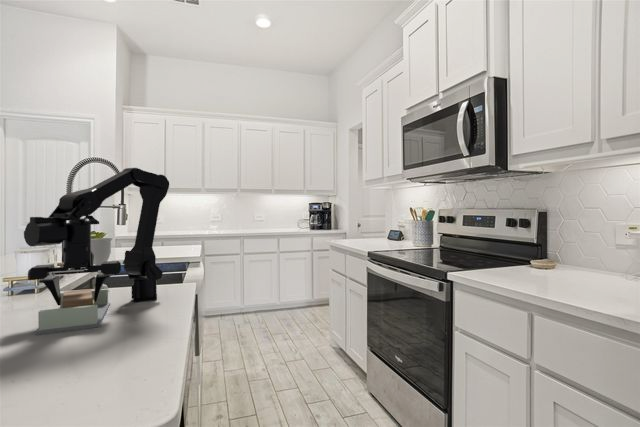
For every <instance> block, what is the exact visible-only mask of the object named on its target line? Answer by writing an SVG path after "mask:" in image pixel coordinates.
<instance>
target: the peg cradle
mask: <svg viewBox="0 0 640 427" xmlns="http://www.w3.org/2000/svg"><path fill="white" fill-rule="evenodd" d="M108 290H109V288H108V289H101V291H100V293H99V296H98V299H97V301H96V302H95V301H94V293H95V290H93V289H91V291H92V297H93V305H89V306H79V307H69V308H62V302H63V296H64V292H65V291H64V292H63V291H61V292H60V294H61V305H59V308H51V309H42V310H39V311H37V313H38V327H37V329H36V330H35V331H34V332H35V335H36V336H38V335H44V334H45V335H46V334H52V333H53V334H54V333H61V332H69V331H77V330H78V331H79V330H85V329H86V330H87V329H93V328H100V326H101V325H102V323H103V320H104V318H105V317H106V315H107V313H106V312H108V311H107V310H109V309H110V307H111V302H109V292H108ZM109 306H110V307H109ZM108 308H109V309H108ZM105 314H106V315H105ZM104 316H105V317H104ZM35 335H34V336H35Z"/></svg>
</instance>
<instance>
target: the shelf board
mask: <svg viewBox="0 0 640 427" xmlns="http://www.w3.org/2000/svg"><path fill="white" fill-rule="evenodd" d="M91 290H92V288H87V289H86V288H85V289H78V290H70V291H64V296H63V302H62V308H69V307H79V306H89V305H93V297H92V291H91Z"/></svg>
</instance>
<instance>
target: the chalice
mask: <svg viewBox="0 0 640 427" xmlns="http://www.w3.org/2000/svg"><path fill="white" fill-rule="evenodd" d="M112 240H113V238H112V237H111V238H110V237H100V238H91V251H92V253H93V254H94V263H93V264H94V265H101V264H102V263H103V262H105V261H109V258H110V255H111V254H112V251H111V250H112V249H111V248H112V243H111V242H112ZM101 289H108V293H109V292H110V290H109V287H108V285H107V284H104V283H103V285H102V288H101ZM92 290H95V286H94V288H93V289H92Z"/></svg>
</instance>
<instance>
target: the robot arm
mask: <svg viewBox="0 0 640 427" xmlns="http://www.w3.org/2000/svg"><path fill="white" fill-rule="evenodd" d="M131 185H133V186H135V187H137V188H139V194H140V197H141V199H142V205H141V209H140V214H139V220H138V225H137V230H136V235H135V242H134V246H133V247H132V248H131V250H125V252H124V260H123V261H122V263H121V261H119V260H108V261H105V262H103V263H102V264H101V265H95V263H94V254H93V253H92V251H91V239H92V226H91V225H99V224H100V221H99V220H98V219H96V218H95V217H94V216H93V215H92V214H94V212H96V211H97V210H98V209H99V208H100V207H101V206H102V204H103V202H104V201H106V199H108V198H110V197H112V196H114V195H115V194H117V193H119V192H120V191H122V190H124V189H125V188H127V187H129V186H131ZM169 188H170V181H169V179H168V178H167V177H166V176H165V175H164V174H157V173H153V172H149V171H145V170H143V169H141V168H138V167H126V168H124V169H123V170H122V171H120V172H118V173H115V175H114V174H113V176H110V177H109V178H107V179H104V180H102V181H101V182H99V183H97V184H95V185H94V186H90V187H88V188H85V189H80V190H76V191H73V192H70V193H67V194H64V195H62V196H61V197H60V198H59V200H58V205H57V206H56V207H55V209H54V210H53V211H52V212H51V214H49V216H48V217H43V216H30V217H29V222H28V223H27V225H26V226H25V227H24V228H25V229H24V231H23V238H24V241H25V243H26V245H28V246H29V247H41V246H53V245H60V244H62V243H63V248H62V255H61V262H62V263H63V266H58V267H57V266H56V267H55V265H54V264H53V263H52V264H36V265H34V266H32V267H31V268H29V269H28V272H27V281H36V280H37V281H38V283H39V284H43V285H45V287H46V288H47V289H48V291H49V292H50V294H51V296H52V298H53V299H54V301H55V303H56V305H57V306H60V305H61V294H60V293H61V288H60V287H61V286H60V278H61V277H60V275H71V274H85V273H86V274H87V273H97V274H98V275H97V276H96V277H95V284H94V285H95V286H94V287H95V293H94V301H95V302H96V301H97V299H98V296H99V293H100V291H101V288H102V285H103V284H104V283H105V281H106V279H108V278H111V277H112V275H119V274H120V272H121V271H122V267H121V266H122V264H123V270H124V271H125V272H126V273H127V276H128V279H129V280H133V283H132V284H131V299H132V302H133V303H134V302H135V303H136V302H143V301H144V302H145V301H154V300H157V299H158V293H157V292H158V289H157V285H158V284H157V281H158V280H160V279H162V277H163V274H164V272H163V270H162V269H160V267H159V266H158V265H157V264H156V254H155V251H154V249H153V245H154V244H153V243H154V238H155V233H156V228H157V222H158V216H159V211H160V205H161V203H162V201H163V200H164V199H165V197H166V196H167V193H168V192H169ZM82 217H83V218H82ZM67 221H69V222H67Z"/></svg>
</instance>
